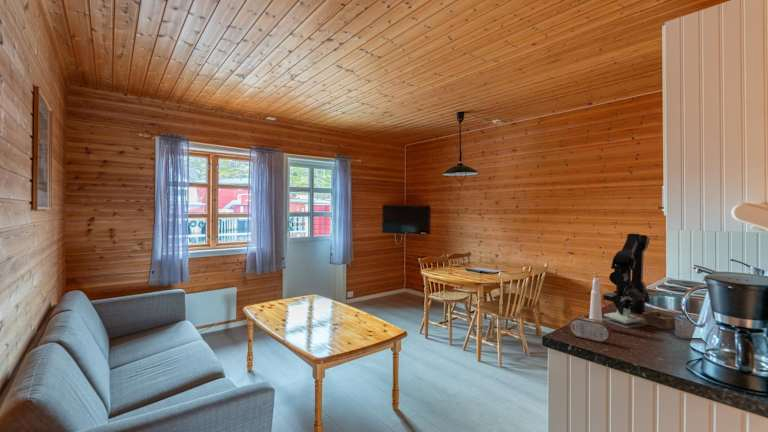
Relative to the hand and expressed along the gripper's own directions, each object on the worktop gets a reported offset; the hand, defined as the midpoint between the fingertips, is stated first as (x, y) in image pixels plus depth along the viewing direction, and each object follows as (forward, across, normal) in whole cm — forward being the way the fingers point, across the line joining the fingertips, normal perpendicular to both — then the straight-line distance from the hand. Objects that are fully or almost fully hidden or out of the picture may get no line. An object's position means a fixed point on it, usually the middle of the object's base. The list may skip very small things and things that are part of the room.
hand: (623, 314), depth 161 cm
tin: (+4, -33, -11) cm, 35 cm away
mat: (+4, 0, 0) cm, 4 cm away
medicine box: (+4, +8, -22) cm, 24 cm away
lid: (+3, 0, 0) cm, 3 cm away
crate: (+4, +13, -8) cm, 16 cm away
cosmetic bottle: (+4, -18, -1) cm, 19 cm away
